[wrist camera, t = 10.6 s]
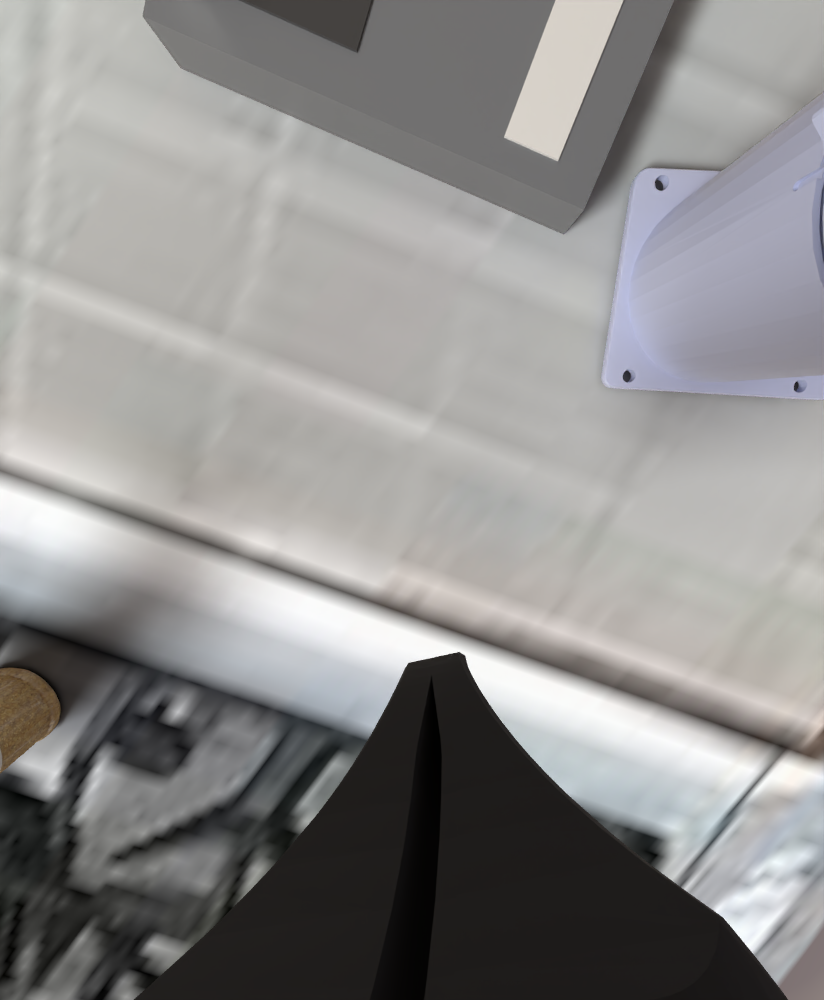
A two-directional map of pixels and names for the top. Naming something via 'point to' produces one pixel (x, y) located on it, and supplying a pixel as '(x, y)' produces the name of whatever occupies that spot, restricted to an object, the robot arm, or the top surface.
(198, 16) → the box
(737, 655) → the top surface
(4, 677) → the sprinkles bottle
